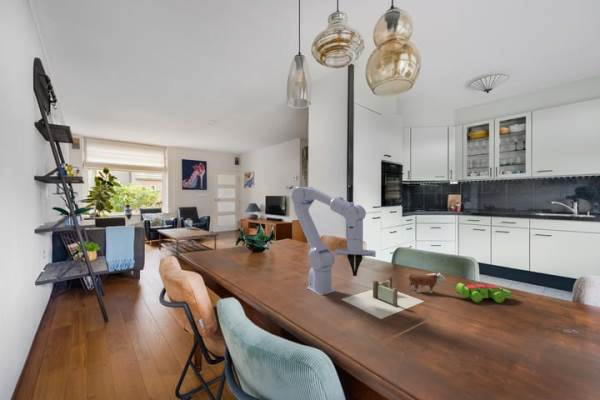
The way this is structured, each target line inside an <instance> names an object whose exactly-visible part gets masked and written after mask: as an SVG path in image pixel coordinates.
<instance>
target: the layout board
mask: <svg viewBox="0 0 600 400" xmlns="http://www.w3.org/2000/svg"><path fill="white" fill-rule="evenodd" d="M341 301H344V302H345V303H347V304H350V305H351V306H353V307H354V308H355V307H356V308H358V309H360V310H362V311H364V312H365V313H367V314H369V315H371V316H374V317H375V318H377V319H380V320H382V319H384V318H388V317H390V316H393V315H394V314H397V313H399V312H401V311H404V310H407V309H409V308H411V307H414V306H417V305H419V304H421V303H422V304H423V303H424V302H425V300H422V299H419V298H416V297H413V296H411V295H408V294H406V293H402V292H399V291H397V305H393V304H392V303H389V302H387V301H384V300H382V299H379V298H373V289H370V290H367V291H365V292H364V291H363V292H361V293H357V294H354V295H351V296H346V297H344V298H341Z"/></svg>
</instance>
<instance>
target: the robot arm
mask: <svg viewBox="0 0 600 400" xmlns="http://www.w3.org/2000/svg"><path fill="white" fill-rule="evenodd" d="M290 197H291V200H292V202H293V207H294V212H295V215H296V217H297V220H298V222H299V224H300V227H301V229H302V232H303V234H304V236H305V238H306V241H307V243H308V245H309V248H310V250H309V251H308V253H307V254H308V258H309V264H310V266H311V268H310V269H309V271H308V286H307V290H310V291H312V292H314V293H315V294H317V295H319V296H324V295H328V294H331V293H335V292H337V290H336V289H335V288H332V268H333V265H334V264H335V262H336V257H335V256H346V257H347V260H348V262H349V266H350V267H351V268H350V269H351V272H352V276H353V277H357V276H358V270H359V268H360V265H361V263H362V261H363V259H364V258H363V257H374V258H376V253H377V251H376V250H371V249H363V248H364V219H365V217H366V215H367V212H366V209H365V208H364V207H363V206H362V205H359V204H357V205H355V203H354V202H353V201H351V202H349V201H347V200H345V199H344V197H342V196H336V197H332V196H330V195H329V194H327V193H325V192H322V191H321V190H319V189H318V188H314V187H312V186H310V187H308V186H296V187H294V188H293V190H292V192H291V196H290ZM315 200H316V201H317V202H320V203H322V204H324V205H327V206H328V207H329V208H330V210H331V211H332V212H334V213H337V214H338V215H339V216H341V217H344V219H345V222H346V248H334V253H333V252H332V251H331V250H330V248H329V246H328V245H326V244H325V243H323V240H322V239H321V236H320V233H319V231H318V229H317V227H316V224H315V222H314V220H313V218H312V216H311V214H310V211H309V209H310V208H311V206H312V205H313V203H314V202H315Z"/></svg>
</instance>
